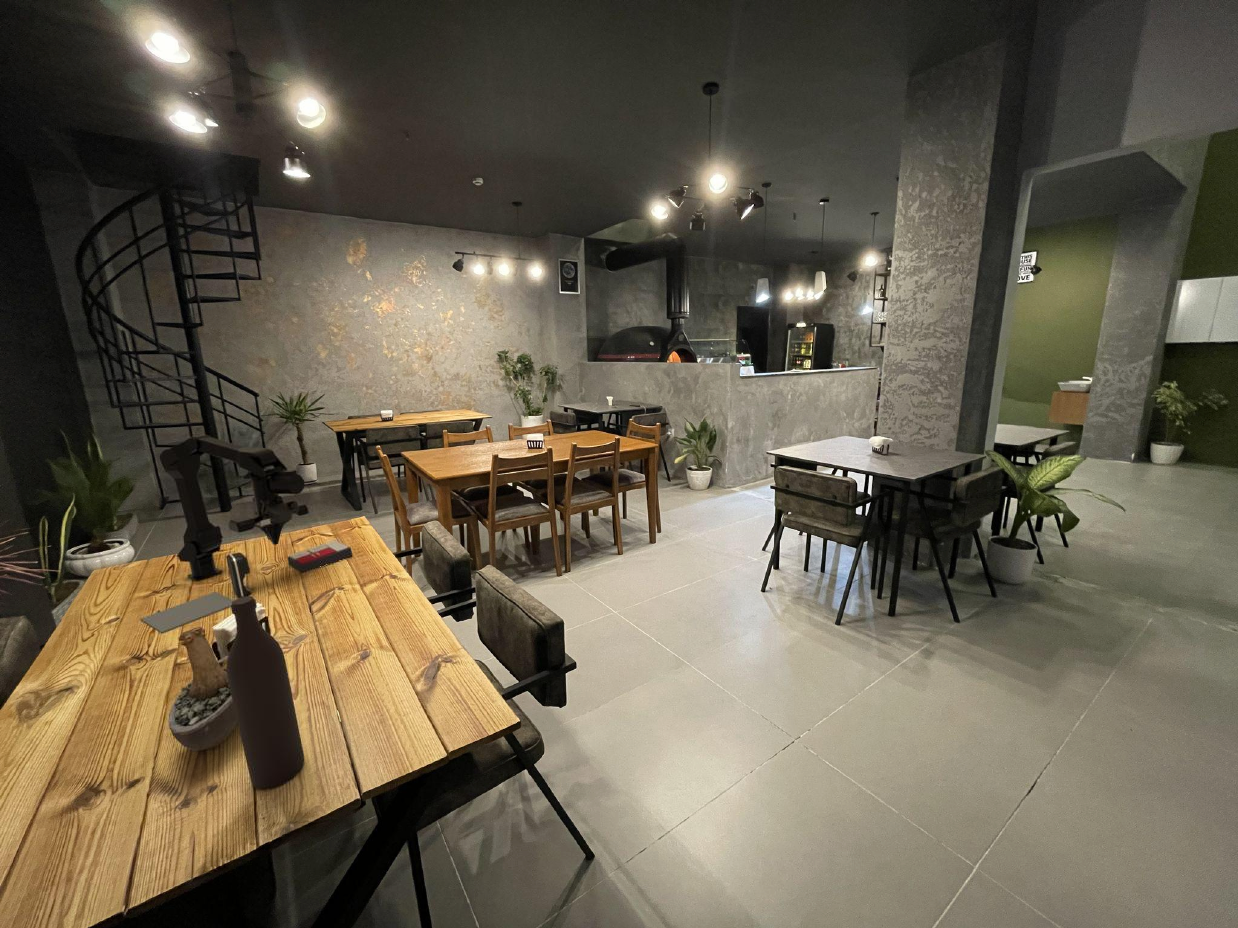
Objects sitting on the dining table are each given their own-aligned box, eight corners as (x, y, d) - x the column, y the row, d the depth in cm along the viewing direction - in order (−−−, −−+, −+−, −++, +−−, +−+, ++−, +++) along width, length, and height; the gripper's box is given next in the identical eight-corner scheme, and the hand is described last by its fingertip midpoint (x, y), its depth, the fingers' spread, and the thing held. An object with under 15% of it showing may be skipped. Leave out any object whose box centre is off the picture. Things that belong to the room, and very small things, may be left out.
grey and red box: (286, 554, 155) (335, 538, 166) (289, 567, 156) (338, 549, 168) (300, 563, 148) (350, 545, 160) (303, 576, 150) (353, 557, 161)
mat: (140, 619, 124) (140, 618, 124) (215, 592, 138) (215, 591, 138) (162, 633, 118) (161, 631, 118) (238, 603, 132) (238, 602, 131)
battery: (255, 593, 137) (247, 555, 134) (239, 598, 134) (230, 560, 132) (249, 586, 141) (241, 549, 139) (233, 591, 139) (224, 553, 136)
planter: (246, 689, 97) (226, 597, 93) (291, 719, 89) (271, 620, 85) (149, 740, 85) (120, 637, 80) (190, 780, 77) (161, 668, 72)
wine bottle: (301, 747, 83) (268, 584, 76) (309, 773, 77) (275, 600, 71) (249, 770, 78) (210, 599, 71) (254, 800, 73) (212, 618, 66)
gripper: (243, 506, 129) (254, 561, 132) (315, 488, 144) (323, 538, 148) (222, 500, 134) (233, 553, 137) (294, 484, 150) (302, 532, 153)
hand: (275, 544), depth 144 cm, fingers closed
